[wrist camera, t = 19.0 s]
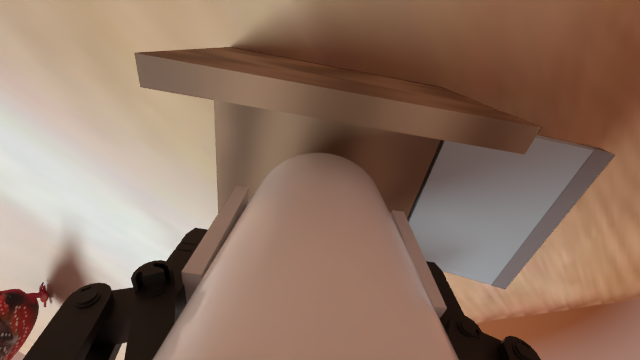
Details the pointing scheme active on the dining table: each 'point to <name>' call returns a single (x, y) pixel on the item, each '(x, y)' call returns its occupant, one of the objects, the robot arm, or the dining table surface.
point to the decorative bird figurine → (17, 318)
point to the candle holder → (311, 277)
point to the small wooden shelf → (326, 117)
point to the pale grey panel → (498, 204)
